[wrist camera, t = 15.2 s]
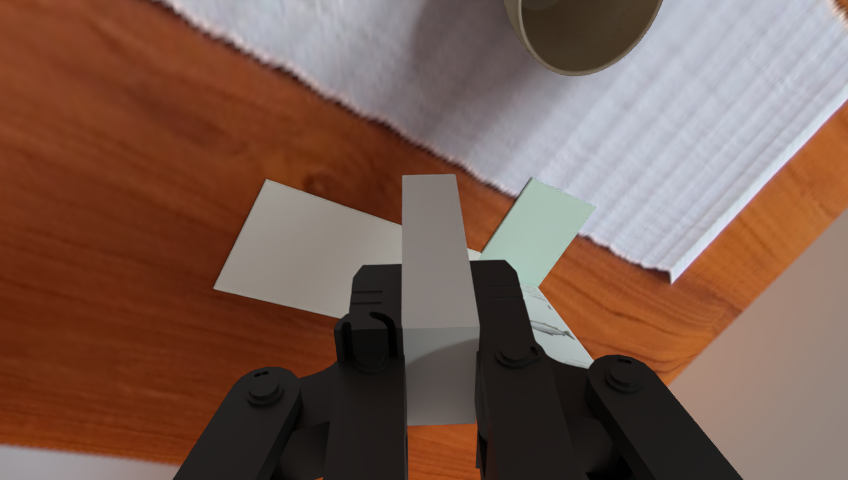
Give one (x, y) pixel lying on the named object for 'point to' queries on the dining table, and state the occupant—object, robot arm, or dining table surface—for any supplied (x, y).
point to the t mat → (374, 245)
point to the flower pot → (580, 31)
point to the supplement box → (553, 330)
